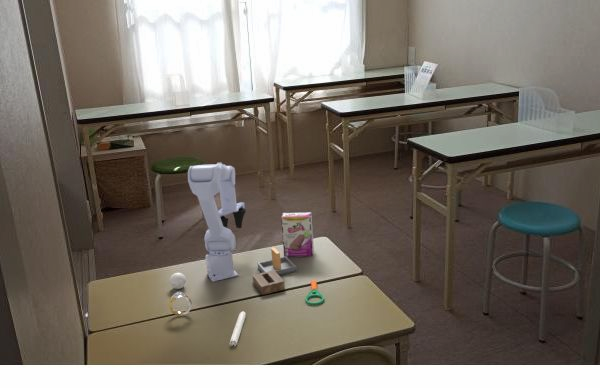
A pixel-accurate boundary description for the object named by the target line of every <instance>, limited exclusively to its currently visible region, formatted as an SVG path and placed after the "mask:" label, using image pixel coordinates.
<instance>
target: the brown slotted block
mask: <svg viewBox="0 0 600 388" xmlns="http://www.w3.org/2000/svg"><path fill="white" fill-rule="evenodd" d="M251 277H252V283H253V285H254V286H255V287H256V289H257V290H258V292H259V293H260V294H261V295H262V296H264V295H267V294H271V293H274V292H279V291H283V290H284V291H285V289H286V287H285V280H284V279H283V278H282V277H281V275H278V274H277V273H276V272H275V271H274V270H272V271H268V272H264V273H262V272H261V273H260V272H259V273H257V274H256V273H255V274H253V275H252V276H251Z"/></svg>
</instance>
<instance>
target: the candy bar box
mask: <svg viewBox="0 0 600 388" xmlns="http://www.w3.org/2000/svg"><path fill="white" fill-rule="evenodd" d="M281 214H282V215H281V217H280V219H281V220H280V221H281V231H282V232H281V233H282V245H283V246H282V247H283V257H284V256H286V257H287V258H295V257H298V258H301V257H302V258H303V257H314V252H315V248H314V234H313V233H314V232H313V230H314V229H313V217H312V212H311V211H310V212H282V213H281Z"/></svg>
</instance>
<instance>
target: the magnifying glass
mask: <svg viewBox="0 0 600 388" xmlns="http://www.w3.org/2000/svg"><path fill="white" fill-rule="evenodd" d="M310 283H311V284H310V287H311V288H310V290H311V291H310V292H309V293H308V294H307V295H306V296H305V303H306V305H309V306H314V307H315V306H320V305H322V304H323V303H324V301H325V296H324V295H323V294H322V293H321V292H319V290H318V283H317V280H311V281H310ZM310 298H320V300H318V301H315V302H314V301H309V299H310Z"/></svg>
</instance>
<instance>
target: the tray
mask: <svg viewBox="0 0 600 388" xmlns="http://www.w3.org/2000/svg"><path fill="white" fill-rule="evenodd" d="M280 261H281V269H279V270H276V269H275V268H274V267H273V263H272V258H271V259H268V260H263V261H259V262H257V268H258V270H259V271H260V272H261V273H264V272H268V271H272V270H274V271H275V272H276V273H277V274H278V275H279V276H284V275H286V274H291V273H295V272H297V265H296V264H295V263H293V261H292V260H291V259H289V257H286V256H284V255H283V256H280Z"/></svg>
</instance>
